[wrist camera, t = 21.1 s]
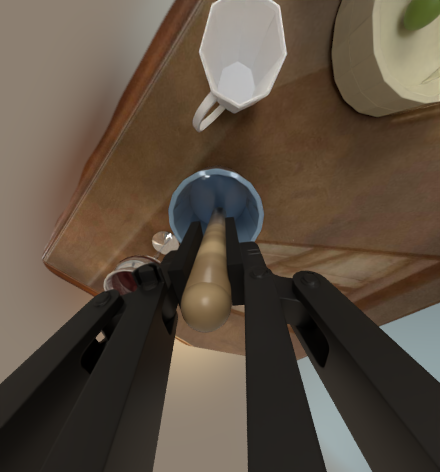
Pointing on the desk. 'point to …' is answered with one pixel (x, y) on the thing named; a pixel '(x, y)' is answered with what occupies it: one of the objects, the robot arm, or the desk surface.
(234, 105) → the cup
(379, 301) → the desk surface
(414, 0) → the olive
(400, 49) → the bowl
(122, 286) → the wineglass
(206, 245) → the stick
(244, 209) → the utensil pot
